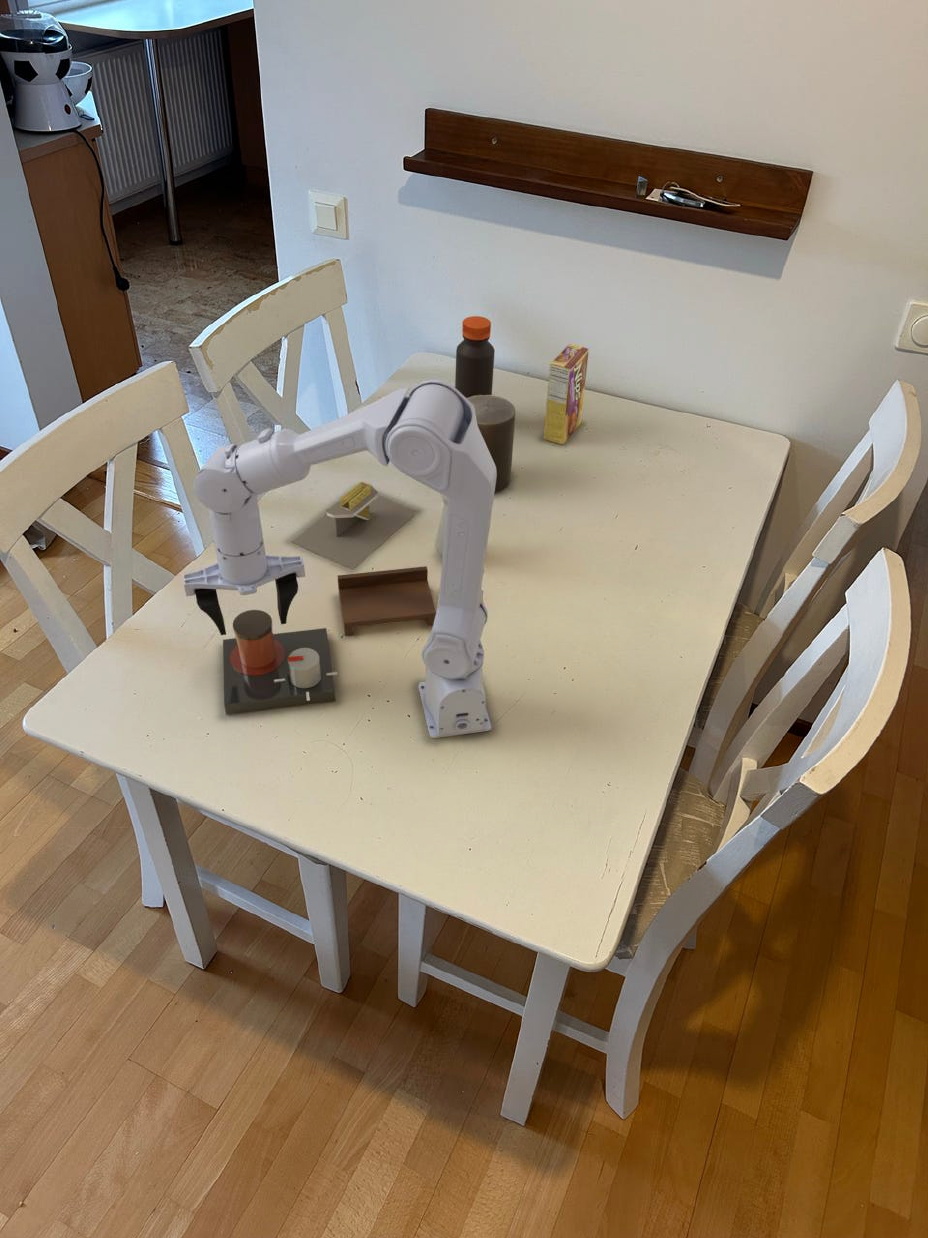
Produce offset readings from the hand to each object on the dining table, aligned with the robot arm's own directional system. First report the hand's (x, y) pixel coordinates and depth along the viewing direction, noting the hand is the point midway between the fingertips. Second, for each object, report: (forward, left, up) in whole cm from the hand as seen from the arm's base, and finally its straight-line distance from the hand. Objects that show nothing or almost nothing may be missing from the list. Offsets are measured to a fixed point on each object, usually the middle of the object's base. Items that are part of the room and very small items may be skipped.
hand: (252, 624), depth 118 cm
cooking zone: (0, 0, -6) cm, 6 cm away
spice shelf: (+8, -18, -8) cm, 22 cm away
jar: (0, 0, -6) cm, 6 cm away
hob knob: (-5, -6, -6) cm, 10 cm away
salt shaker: (+19, -30, -8) cm, 37 cm away
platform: (+29, -16, -8) cm, 34 cm away
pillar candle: (+39, -39, -8) cm, 56 cm away
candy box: (+52, -57, -8) cm, 78 cm away
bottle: (+57, -41, -8) cm, 71 cm away
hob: (-2, -2, -8) cm, 8 cm away
